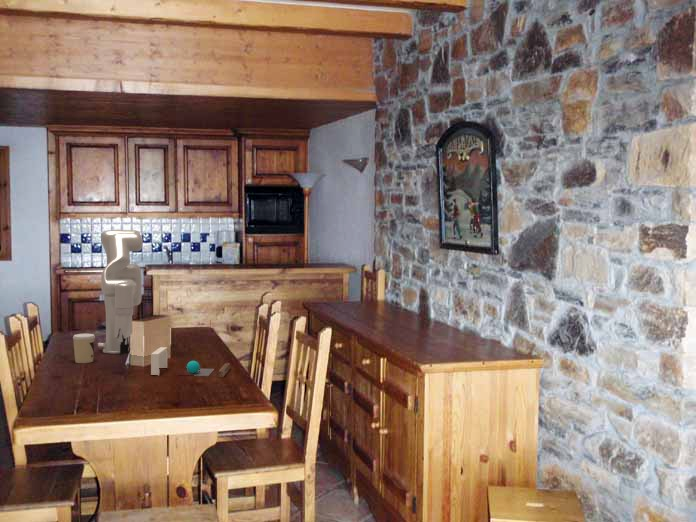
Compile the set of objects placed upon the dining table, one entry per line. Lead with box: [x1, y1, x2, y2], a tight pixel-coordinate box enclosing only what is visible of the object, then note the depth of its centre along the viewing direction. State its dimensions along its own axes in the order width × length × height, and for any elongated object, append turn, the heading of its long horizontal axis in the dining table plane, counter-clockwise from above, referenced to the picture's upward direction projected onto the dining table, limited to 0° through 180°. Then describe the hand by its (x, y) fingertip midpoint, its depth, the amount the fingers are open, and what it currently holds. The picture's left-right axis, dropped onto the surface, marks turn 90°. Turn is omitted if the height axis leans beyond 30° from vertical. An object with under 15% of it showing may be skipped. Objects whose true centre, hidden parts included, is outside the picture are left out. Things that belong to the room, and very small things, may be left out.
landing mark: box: [193, 368, 215, 377], centre depth 314 cm, size 13×13×1 cm
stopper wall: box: [217, 362, 231, 378], centre depth 314 cm, size 2×16×2 cm, turn 179°
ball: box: [186, 360, 201, 374], centre depth 312 cm, size 6×6×6 cm
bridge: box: [150, 346, 168, 376], centre depth 314 cm, size 3×14×9 cm, turn 179°
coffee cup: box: [72, 333, 96, 364], centre depth 331 cm, size 9×9×12 cm
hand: (124, 352), depth 315 cm, fingers closed
